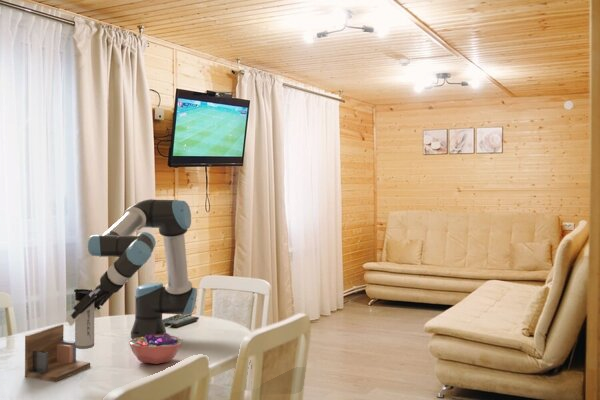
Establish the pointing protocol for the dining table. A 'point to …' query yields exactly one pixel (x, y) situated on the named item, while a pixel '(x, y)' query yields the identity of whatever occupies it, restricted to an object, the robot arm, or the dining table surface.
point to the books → (66, 351)
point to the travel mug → (84, 323)
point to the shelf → (50, 354)
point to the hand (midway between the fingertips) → (75, 320)
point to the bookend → (39, 362)
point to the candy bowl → (155, 348)
